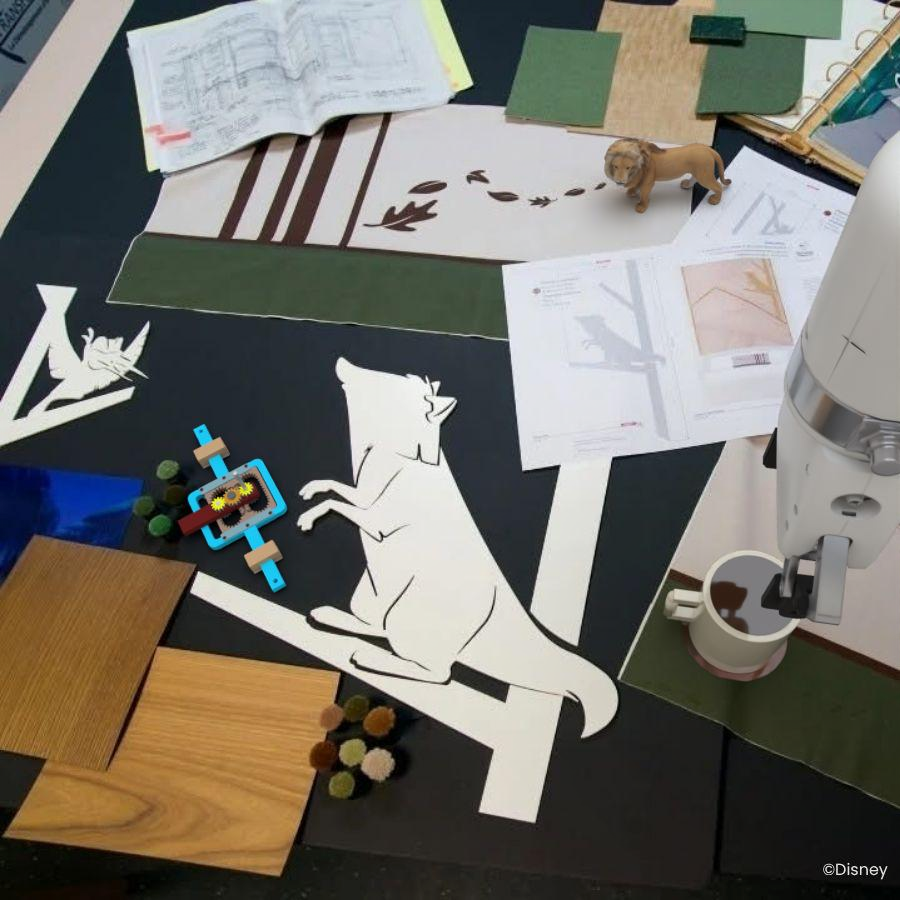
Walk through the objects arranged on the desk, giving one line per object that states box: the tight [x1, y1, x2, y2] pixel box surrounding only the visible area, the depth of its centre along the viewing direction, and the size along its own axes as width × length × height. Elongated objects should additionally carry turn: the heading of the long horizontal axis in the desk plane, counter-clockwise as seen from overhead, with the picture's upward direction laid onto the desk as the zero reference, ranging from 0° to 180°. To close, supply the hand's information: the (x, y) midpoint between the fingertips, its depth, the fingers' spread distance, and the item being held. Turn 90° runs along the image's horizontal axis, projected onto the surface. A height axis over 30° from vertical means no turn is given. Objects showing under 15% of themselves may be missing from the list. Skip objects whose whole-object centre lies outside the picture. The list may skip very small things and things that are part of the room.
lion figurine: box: [603, 137, 732, 213], centre depth 92 cm, size 15×5×9 cm, turn 100°
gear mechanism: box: [177, 423, 288, 593], centre depth 80 cm, size 20×5×9 cm
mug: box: [662, 549, 802, 674], centre depth 67 cm, size 10×7×8 cm
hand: (787, 533), depth 54 cm, fingers open, 9 cm apart
